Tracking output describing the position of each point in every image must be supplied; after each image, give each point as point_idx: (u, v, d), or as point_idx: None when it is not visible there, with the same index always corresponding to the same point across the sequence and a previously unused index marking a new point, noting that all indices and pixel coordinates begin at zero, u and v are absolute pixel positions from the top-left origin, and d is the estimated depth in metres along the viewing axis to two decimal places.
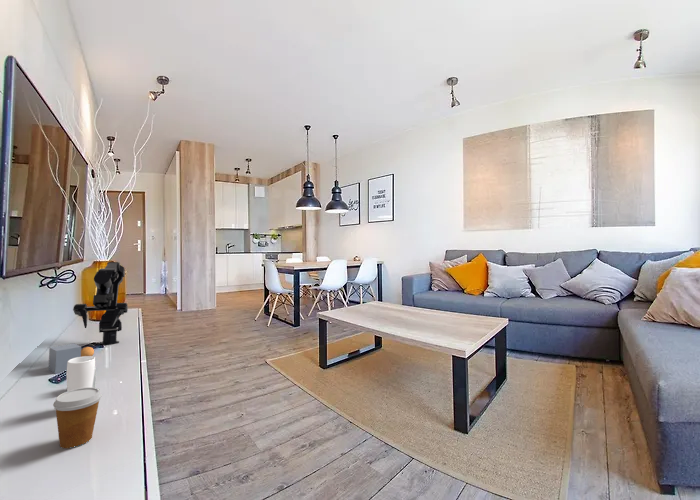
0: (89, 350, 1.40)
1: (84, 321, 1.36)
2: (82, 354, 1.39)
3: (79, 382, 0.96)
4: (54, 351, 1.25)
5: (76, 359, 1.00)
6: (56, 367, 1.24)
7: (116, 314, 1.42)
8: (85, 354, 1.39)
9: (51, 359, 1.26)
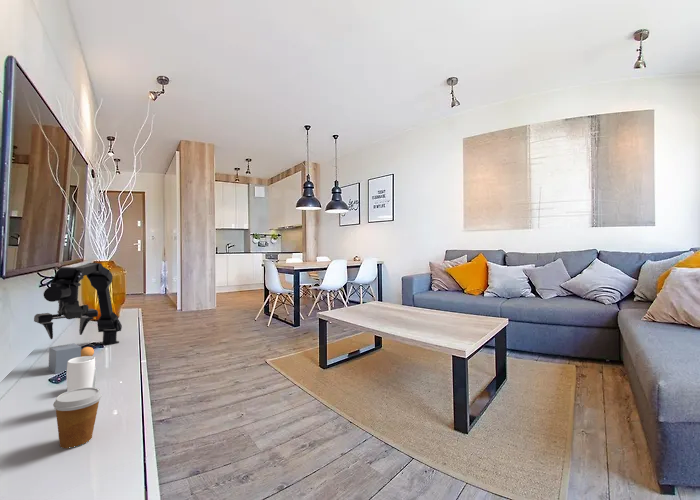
0: (89, 350, 1.40)
1: (50, 333, 1.24)
2: (82, 354, 1.39)
3: (79, 382, 0.96)
4: (54, 351, 1.25)
5: (76, 359, 1.00)
6: (56, 367, 1.24)
7: (86, 323, 1.33)
8: (85, 354, 1.39)
9: (51, 359, 1.26)
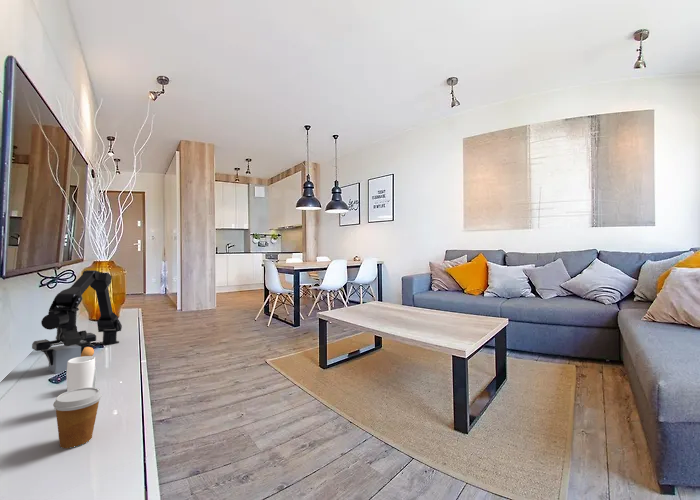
0: (89, 350, 1.40)
1: (51, 359, 1.24)
2: (82, 354, 1.39)
3: (79, 382, 0.96)
4: (54, 351, 1.25)
5: (76, 359, 1.00)
6: (56, 367, 1.24)
7: (82, 348, 1.32)
8: (85, 354, 1.39)
9: None
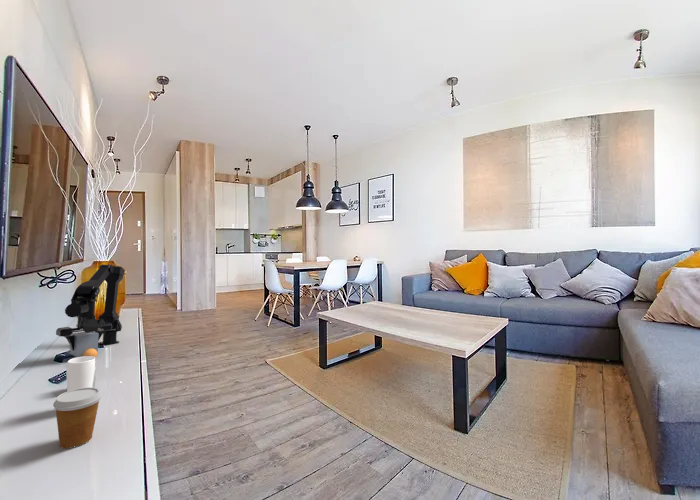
0: None
1: (72, 345, 1.38)
2: None
3: (79, 382, 0.96)
4: (75, 337, 1.39)
5: (76, 359, 1.00)
6: (77, 351, 1.38)
7: (100, 335, 1.46)
8: None
9: None
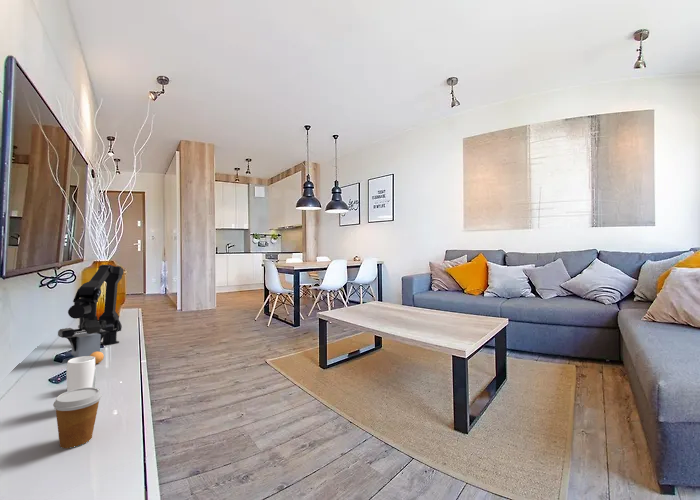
0: None
1: (74, 346, 1.38)
2: None
3: (79, 382, 0.96)
4: (77, 338, 1.38)
5: (76, 359, 1.00)
6: (79, 352, 1.37)
7: (102, 336, 1.46)
8: None
9: None
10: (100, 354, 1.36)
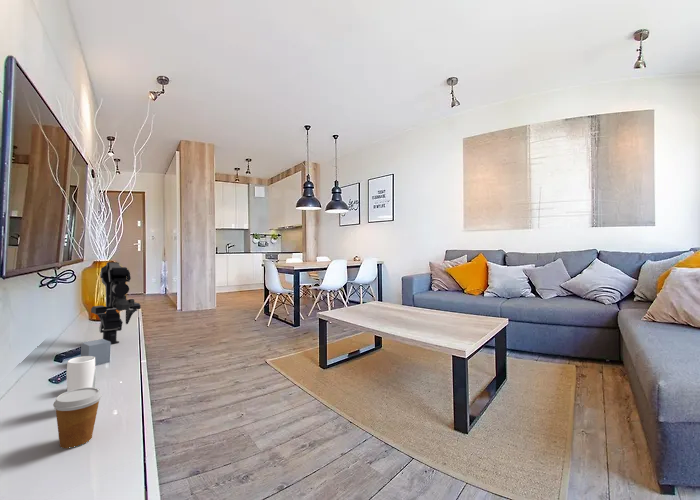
0: None
1: (104, 322, 1.48)
2: None
3: (79, 382, 0.96)
4: (86, 346, 1.32)
5: (76, 359, 1.00)
6: None
7: (131, 314, 1.57)
8: None
9: (83, 353, 1.34)
10: None
